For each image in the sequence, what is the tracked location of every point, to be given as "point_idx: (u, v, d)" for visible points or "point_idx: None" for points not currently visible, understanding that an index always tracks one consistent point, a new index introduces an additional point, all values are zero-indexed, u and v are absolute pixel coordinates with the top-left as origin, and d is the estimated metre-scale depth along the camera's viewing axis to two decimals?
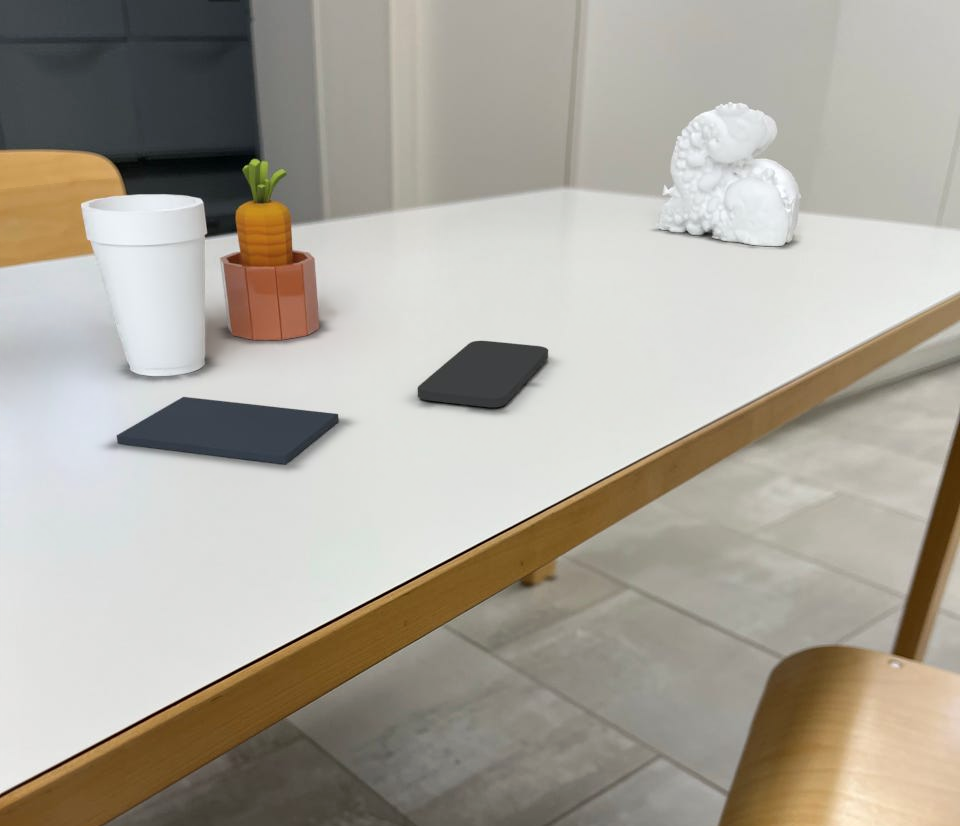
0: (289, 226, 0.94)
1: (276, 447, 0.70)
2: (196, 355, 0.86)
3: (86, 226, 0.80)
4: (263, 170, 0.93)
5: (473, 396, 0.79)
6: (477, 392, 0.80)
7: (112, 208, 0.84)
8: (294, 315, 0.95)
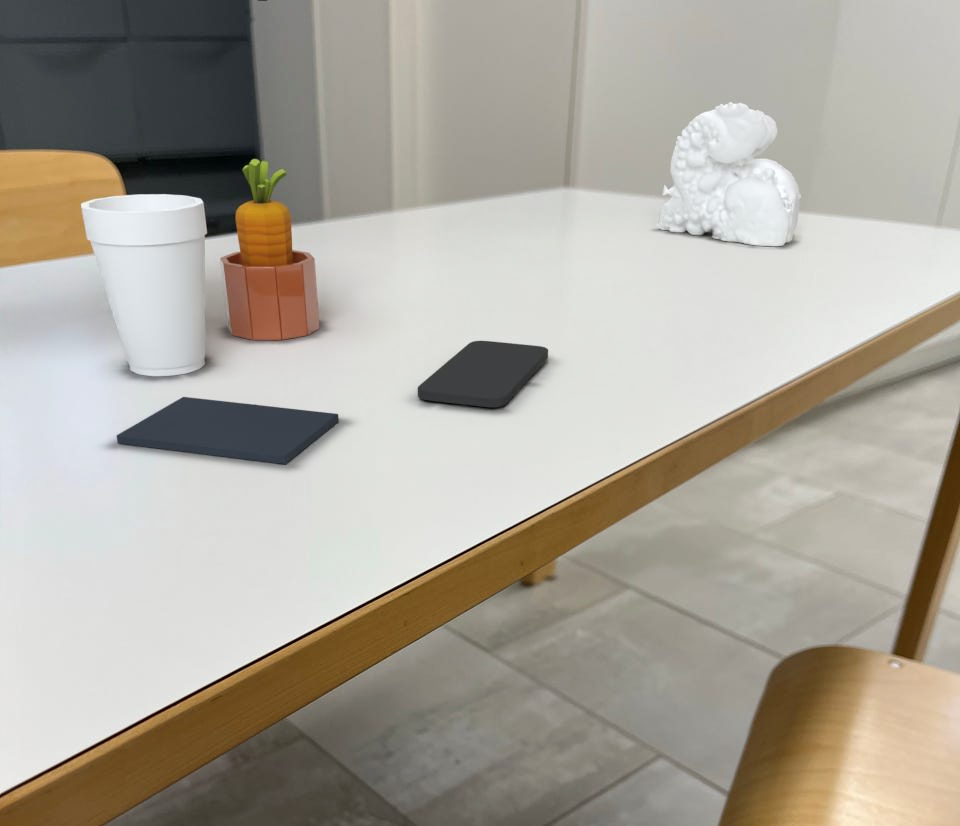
0: (289, 226, 0.94)
1: (276, 447, 0.70)
2: (196, 355, 0.86)
3: (86, 226, 0.80)
4: (263, 170, 0.93)
5: (473, 396, 0.79)
6: (477, 392, 0.80)
7: (112, 208, 0.84)
8: (294, 315, 0.95)
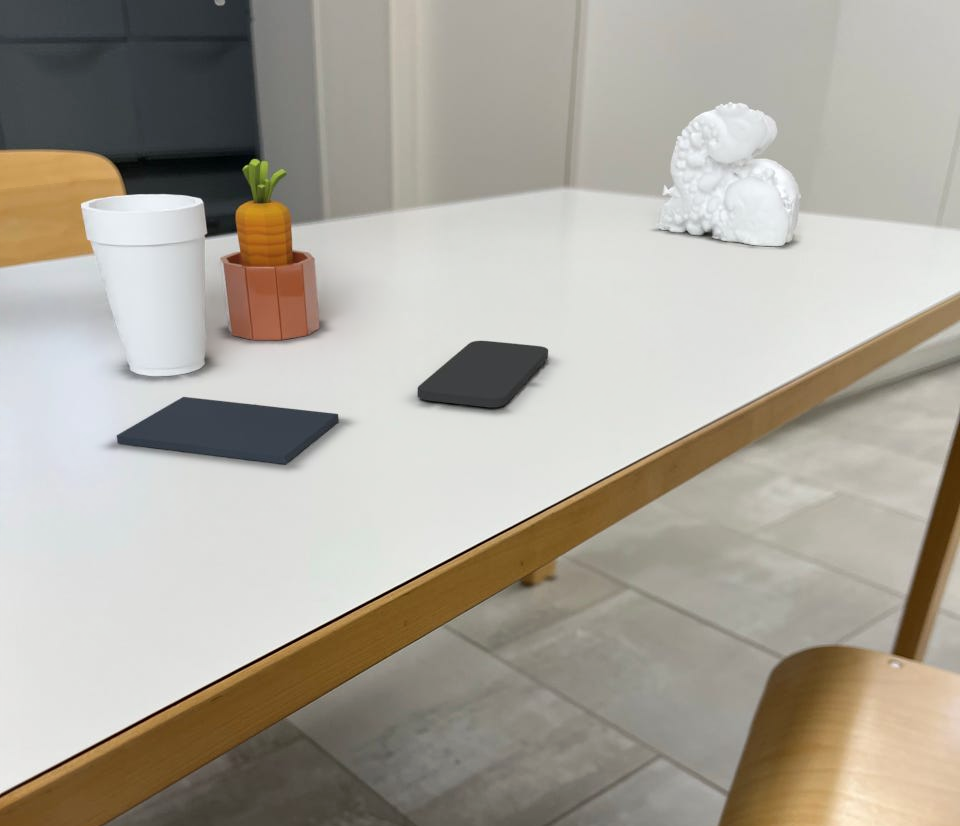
0: (289, 226, 0.94)
1: (276, 447, 0.70)
2: (196, 355, 0.86)
3: (86, 226, 0.80)
4: (263, 170, 0.93)
5: (472, 396, 0.79)
6: (477, 392, 0.80)
7: (112, 208, 0.84)
8: (294, 315, 0.95)
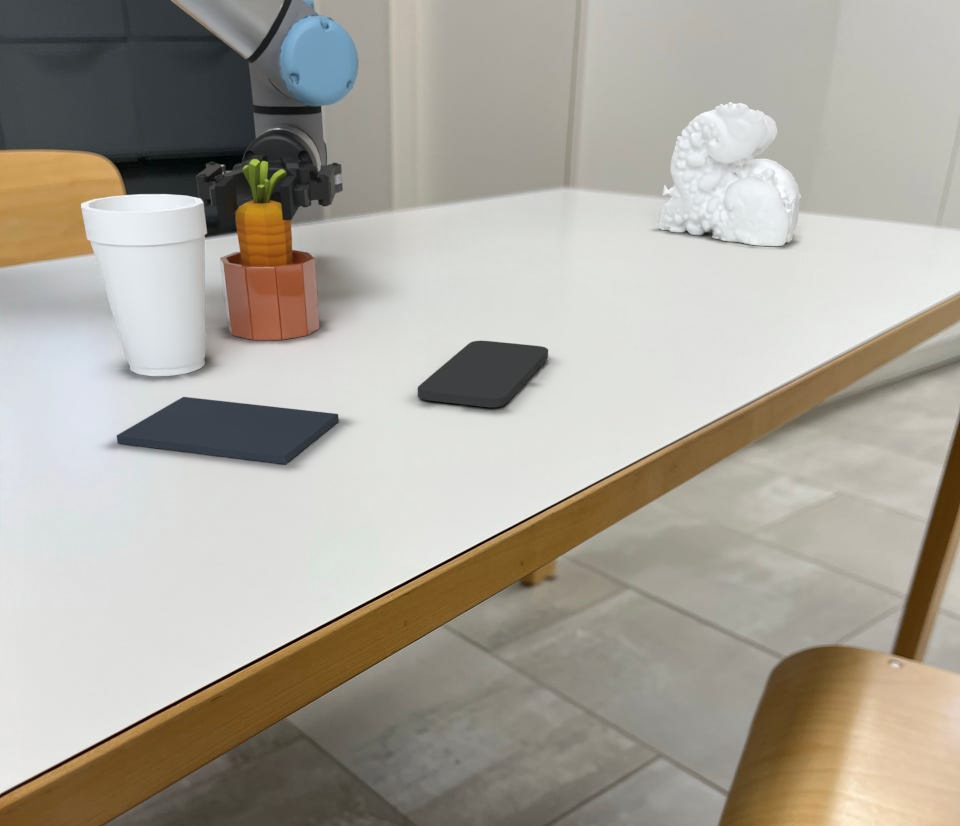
0: (289, 226, 0.94)
1: (276, 447, 0.70)
2: (196, 355, 0.86)
3: (86, 226, 0.80)
4: (263, 170, 0.93)
5: (473, 396, 0.79)
6: (477, 392, 0.80)
7: (112, 208, 0.84)
8: (294, 315, 0.95)
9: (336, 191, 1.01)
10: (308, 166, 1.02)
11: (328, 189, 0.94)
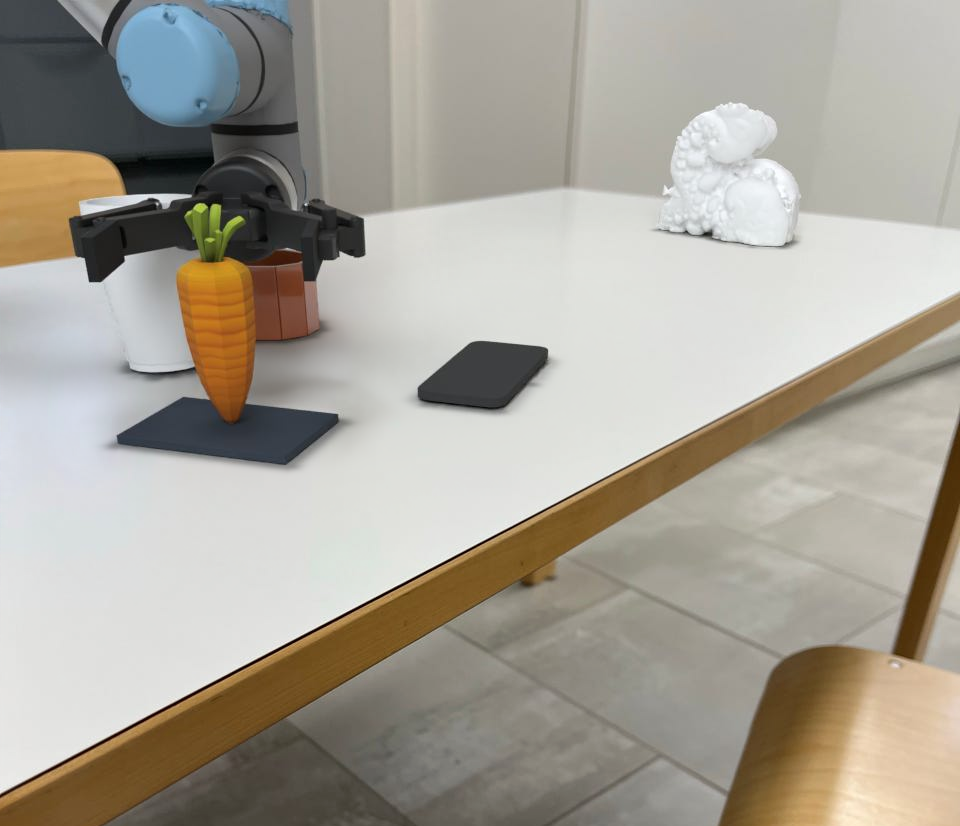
0: (250, 292, 0.69)
1: (276, 447, 0.70)
2: None
3: None
4: (214, 217, 0.68)
5: (472, 396, 0.79)
6: (477, 392, 0.80)
7: None
8: (294, 315, 0.95)
9: None
10: (283, 205, 0.77)
11: (364, 235, 0.72)
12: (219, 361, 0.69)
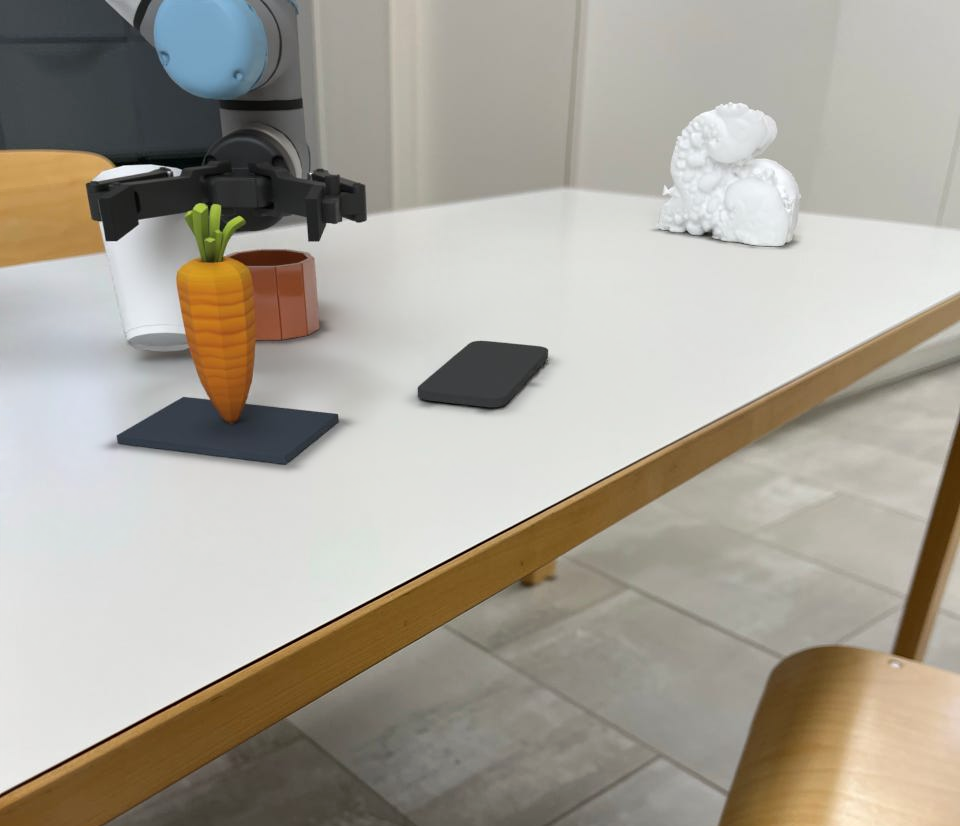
0: (250, 292, 0.69)
1: (276, 447, 0.70)
2: None
3: None
4: (214, 217, 0.68)
5: (472, 396, 0.79)
6: (477, 392, 0.80)
7: None
8: (294, 315, 0.95)
9: None
10: None
11: (365, 201, 0.76)
12: (219, 361, 0.69)
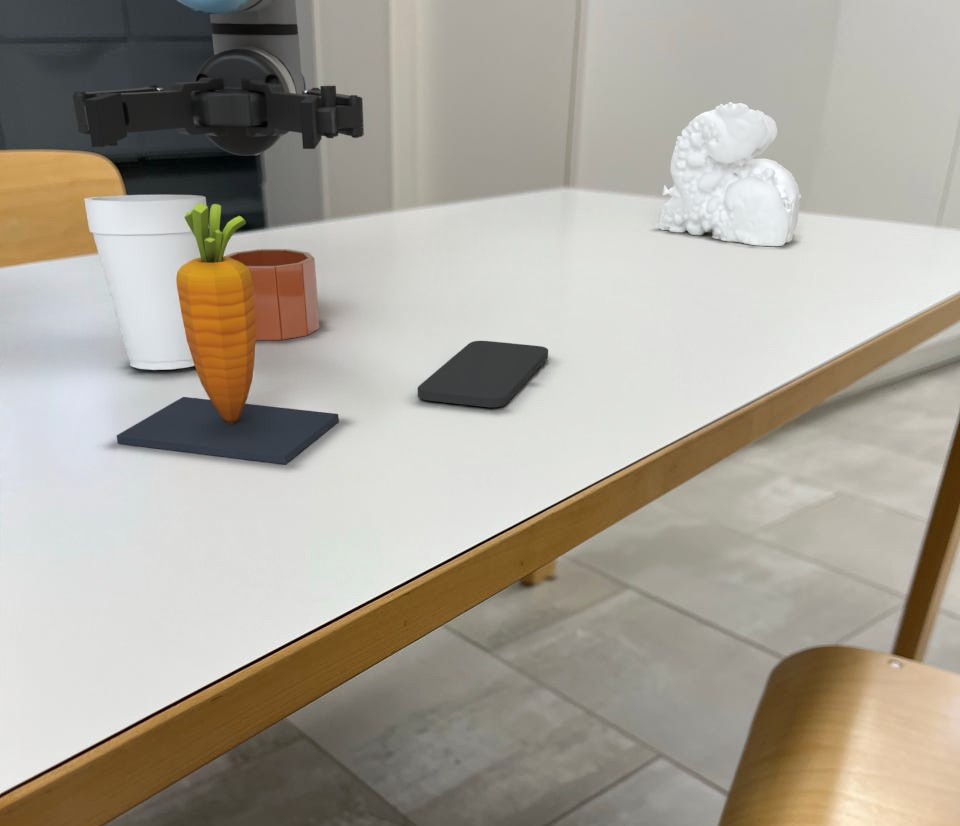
0: (250, 292, 0.69)
1: (276, 447, 0.70)
2: None
3: (89, 218, 0.80)
4: (214, 217, 0.68)
5: (472, 396, 0.79)
6: (477, 392, 0.80)
7: None
8: (294, 315, 0.95)
9: None
10: None
11: (362, 114, 0.73)
12: (219, 361, 0.69)
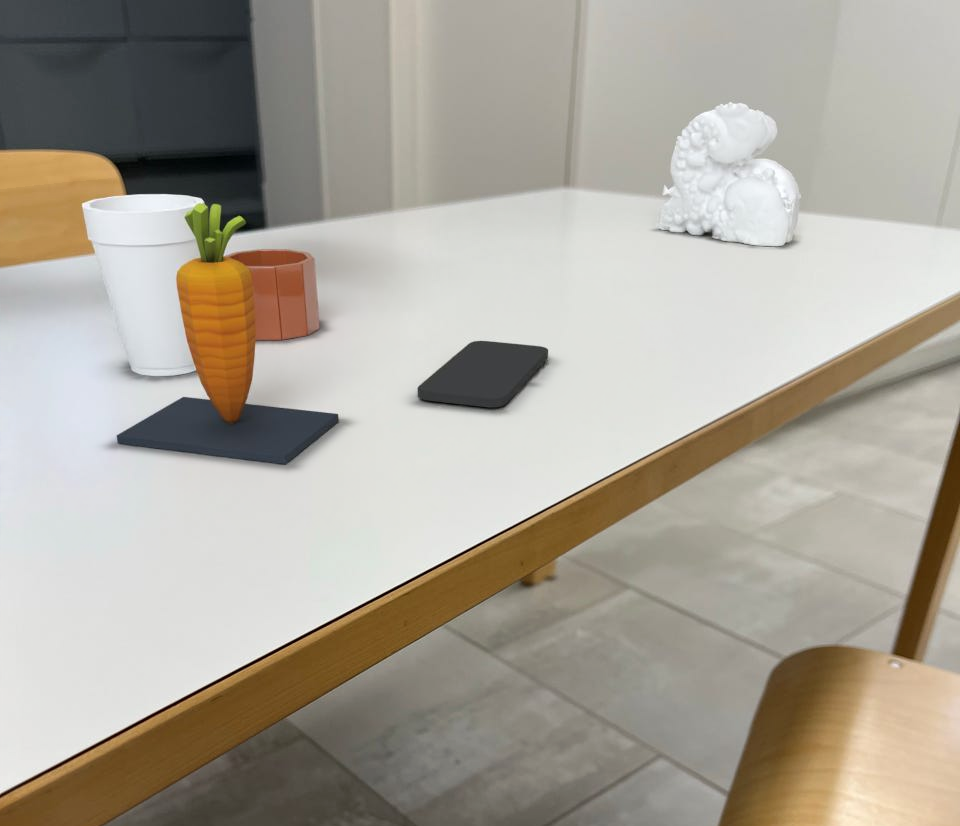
0: (250, 292, 0.69)
1: (276, 447, 0.70)
2: None
3: (87, 226, 0.80)
4: (214, 217, 0.68)
5: (472, 396, 0.79)
6: (477, 392, 0.80)
7: (112, 208, 0.84)
8: (294, 315, 0.95)
9: None
10: None
11: None
12: (219, 361, 0.69)
